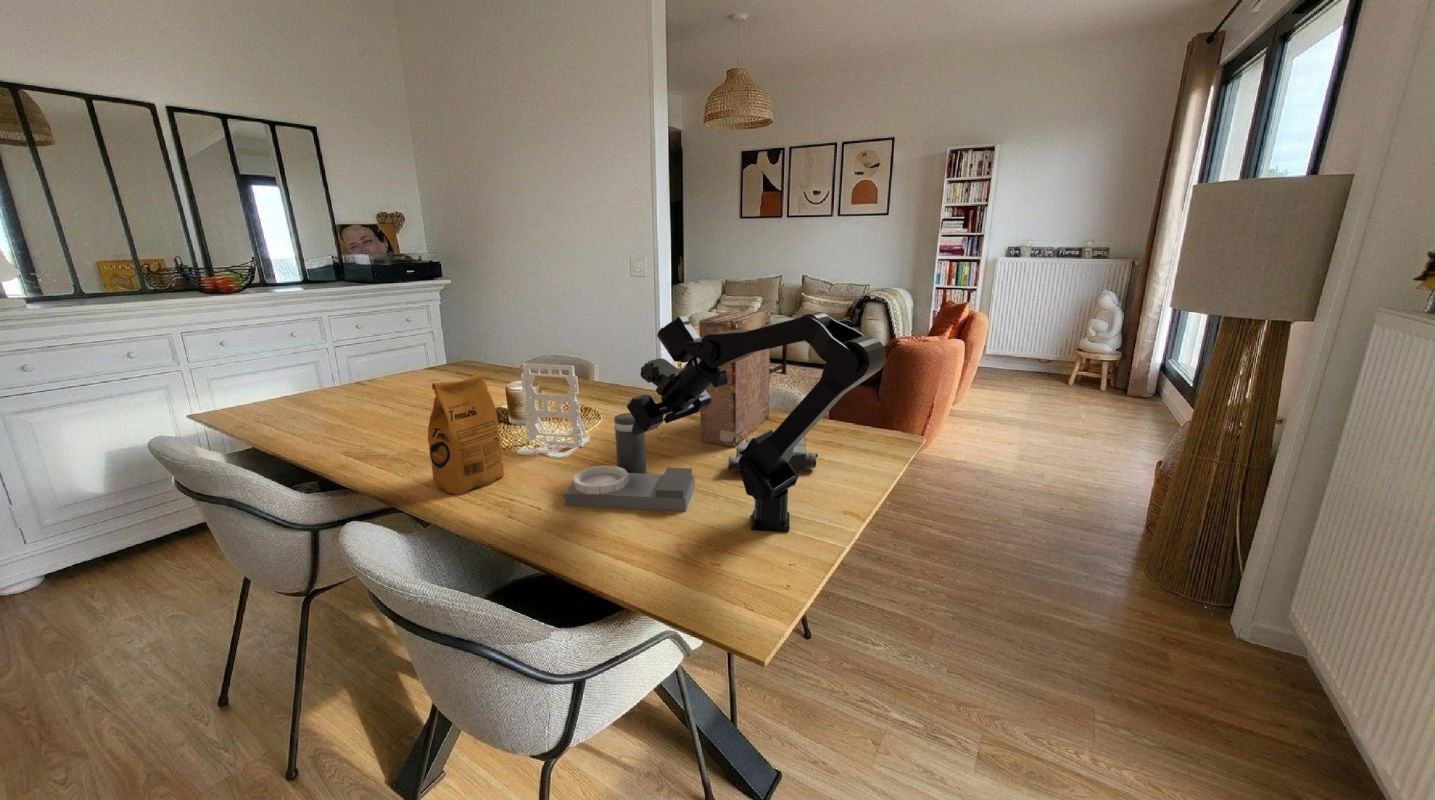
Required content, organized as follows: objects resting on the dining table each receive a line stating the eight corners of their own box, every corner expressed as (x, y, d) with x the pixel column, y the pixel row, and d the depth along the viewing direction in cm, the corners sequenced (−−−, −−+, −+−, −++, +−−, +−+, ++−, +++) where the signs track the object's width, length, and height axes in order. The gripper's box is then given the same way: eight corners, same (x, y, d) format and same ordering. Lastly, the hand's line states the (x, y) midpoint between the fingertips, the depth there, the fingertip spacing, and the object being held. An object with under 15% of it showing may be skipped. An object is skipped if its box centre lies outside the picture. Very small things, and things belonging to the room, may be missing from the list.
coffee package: (427, 487, 115) (411, 381, 109) (483, 467, 125) (470, 369, 119) (455, 499, 109) (439, 388, 103) (510, 477, 119) (499, 375, 113)
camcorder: (823, 474, 121) (825, 451, 119) (728, 479, 118) (729, 456, 116) (802, 448, 136) (802, 427, 135) (717, 452, 133) (717, 431, 132)
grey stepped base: (686, 511, 104) (685, 491, 103) (565, 505, 106) (563, 485, 105) (694, 486, 114) (694, 468, 113) (584, 482, 117) (582, 464, 116)
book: (738, 414, 162) (738, 308, 153) (769, 418, 158) (771, 309, 150) (700, 442, 139) (698, 320, 131) (735, 447, 136) (735, 322, 127)
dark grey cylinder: (643, 482, 116) (640, 422, 113) (613, 481, 117) (610, 421, 113) (649, 470, 122) (647, 413, 119) (621, 469, 123) (618, 412, 119)
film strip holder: (510, 454, 132) (501, 370, 127) (541, 435, 145) (534, 358, 140) (567, 459, 129) (559, 373, 124) (593, 439, 142) (588, 361, 136)
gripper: (698, 340, 113) (659, 385, 122) (632, 355, 98) (592, 405, 108) (731, 384, 110) (688, 427, 120) (667, 406, 96) (624, 453, 105)
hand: (649, 427), depth 113 cm, fingers open, 9 cm apart
